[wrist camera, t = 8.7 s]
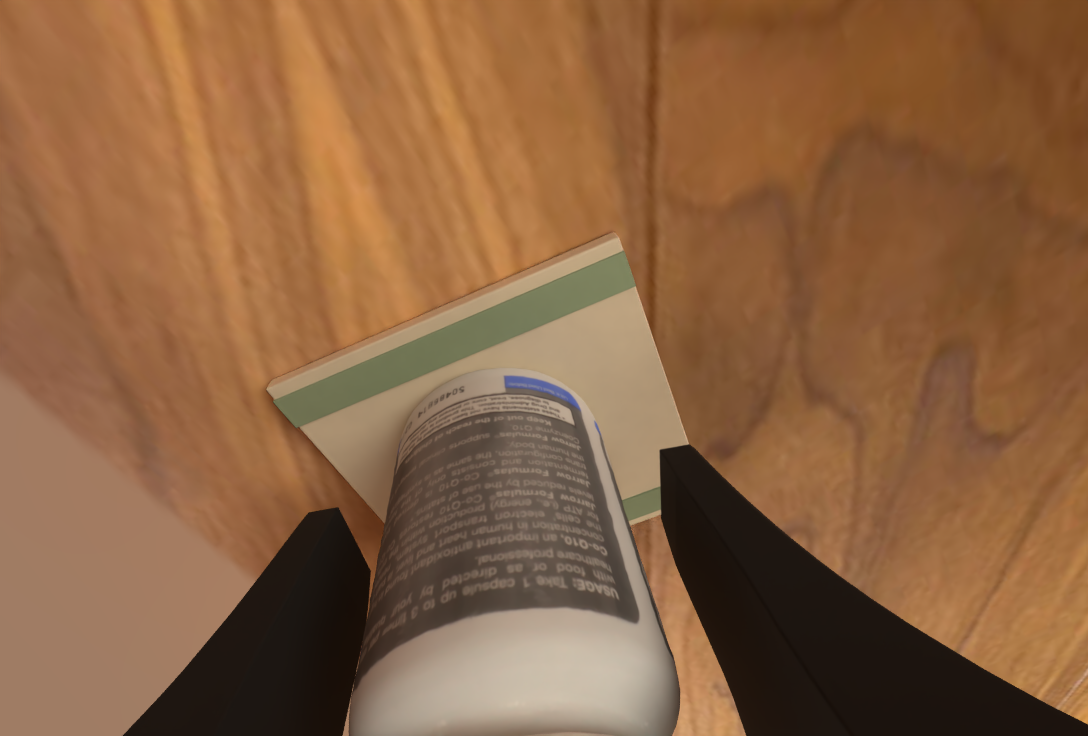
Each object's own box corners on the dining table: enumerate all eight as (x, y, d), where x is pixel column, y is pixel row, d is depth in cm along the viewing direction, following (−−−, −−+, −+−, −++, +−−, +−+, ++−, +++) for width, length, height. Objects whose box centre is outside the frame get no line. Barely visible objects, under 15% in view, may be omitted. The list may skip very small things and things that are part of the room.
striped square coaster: (446, 580, 16) (445, 595, 15) (270, 379, 11) (263, 391, 11) (702, 487, 15) (708, 500, 14) (614, 230, 10) (619, 237, 10)
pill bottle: (357, 447, 12) (184, 1023, 5) (508, 320, 11) (563, 859, 4) (498, 540, 14) (518, 1033, 7) (637, 445, 13) (829, 932, 6)
